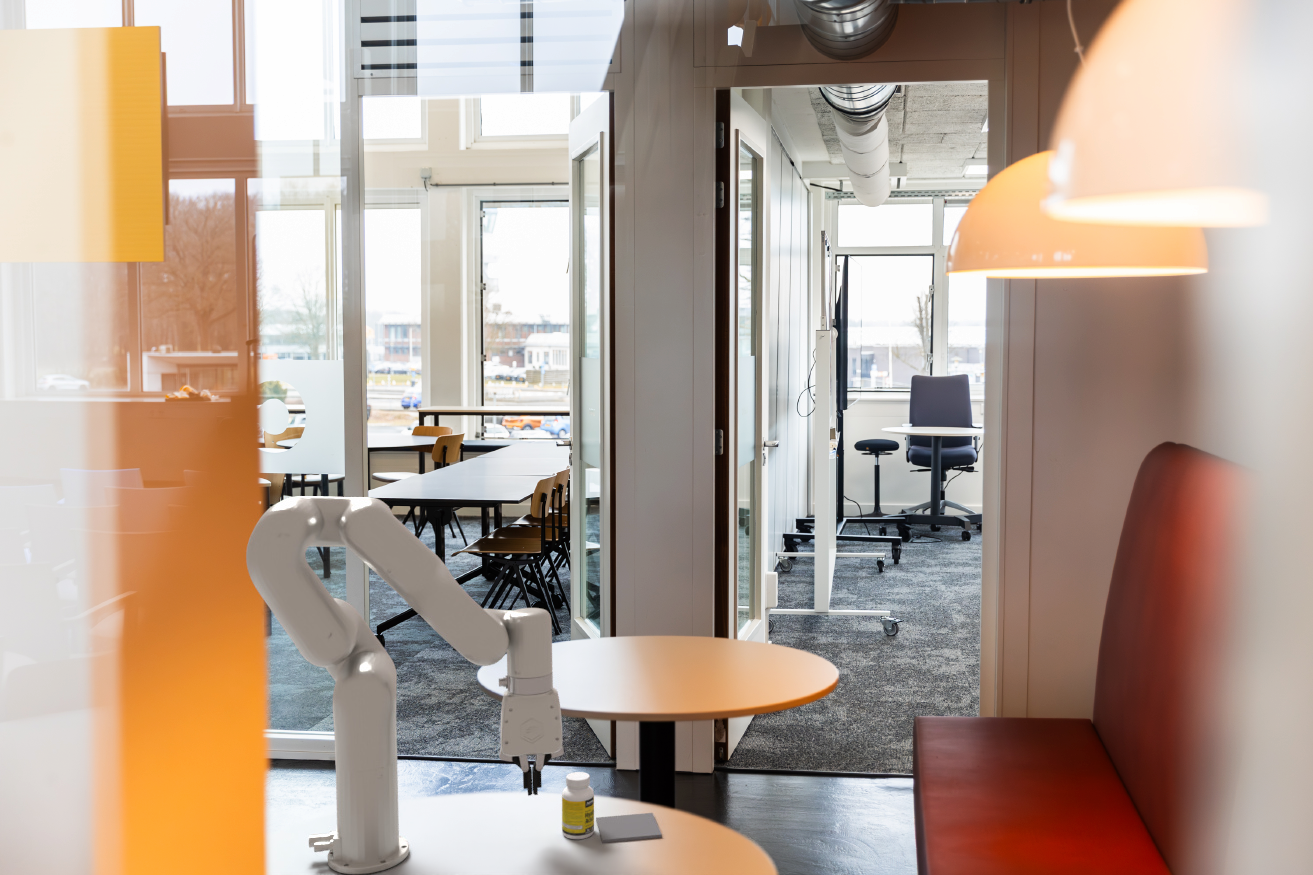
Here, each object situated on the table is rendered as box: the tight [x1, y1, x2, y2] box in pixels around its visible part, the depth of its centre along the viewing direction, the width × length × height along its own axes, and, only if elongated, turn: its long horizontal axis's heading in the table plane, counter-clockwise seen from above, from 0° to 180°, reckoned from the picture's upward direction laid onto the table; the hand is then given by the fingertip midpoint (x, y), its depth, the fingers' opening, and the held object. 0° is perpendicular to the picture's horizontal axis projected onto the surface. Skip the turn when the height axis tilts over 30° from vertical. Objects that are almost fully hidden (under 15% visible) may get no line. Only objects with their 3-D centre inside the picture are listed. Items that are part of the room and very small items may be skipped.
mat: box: [595, 812, 663, 844], centre depth 164 cm, size 10×9×1 cm
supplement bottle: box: [561, 771, 595, 840], centre depth 162 cm, size 5×5×10 cm
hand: (532, 791), depth 161 cm, fingers closed
